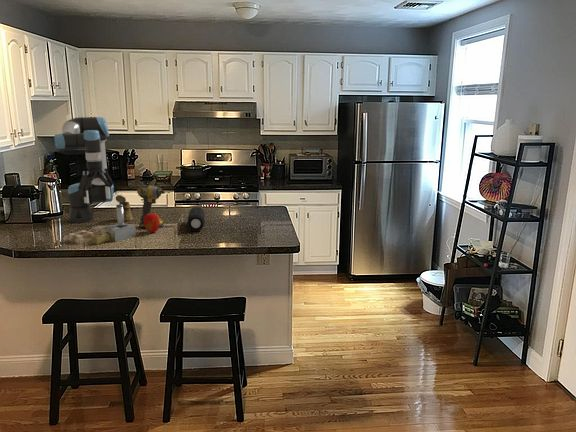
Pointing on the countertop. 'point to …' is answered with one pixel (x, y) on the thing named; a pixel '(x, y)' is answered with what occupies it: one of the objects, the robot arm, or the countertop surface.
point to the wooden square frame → (81, 236)
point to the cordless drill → (149, 200)
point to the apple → (151, 222)
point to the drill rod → (120, 215)
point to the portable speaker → (196, 219)
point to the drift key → (100, 238)
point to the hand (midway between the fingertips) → (97, 200)
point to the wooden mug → (125, 207)
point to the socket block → (120, 231)
